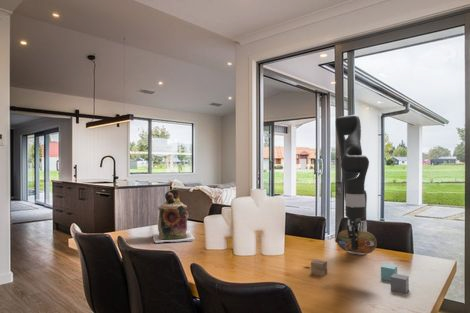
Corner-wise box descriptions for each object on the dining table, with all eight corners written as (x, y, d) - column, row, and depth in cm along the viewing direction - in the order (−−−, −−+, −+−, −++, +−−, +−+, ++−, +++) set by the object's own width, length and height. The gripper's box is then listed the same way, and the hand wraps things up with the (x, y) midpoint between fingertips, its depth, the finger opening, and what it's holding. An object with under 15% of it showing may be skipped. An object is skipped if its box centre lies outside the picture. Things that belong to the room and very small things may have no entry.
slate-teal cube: (384, 276, 136) (383, 263, 136) (397, 278, 133) (397, 266, 133) (381, 279, 132) (380, 266, 132) (394, 281, 129) (394, 269, 129)
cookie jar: (151, 236, 215) (152, 187, 216) (189, 233, 223) (189, 186, 224) (154, 244, 192) (154, 189, 193) (195, 241, 199) (196, 188, 200)
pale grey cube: (393, 286, 123) (393, 273, 124) (408, 289, 120) (408, 276, 120) (390, 290, 119) (390, 276, 120) (406, 294, 116) (405, 279, 116)
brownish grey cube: (316, 271, 142) (316, 259, 142) (327, 273, 139) (327, 261, 139) (311, 274, 138) (311, 262, 138) (322, 276, 135) (322, 264, 135)
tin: (336, 249, 134) (336, 229, 134) (339, 247, 137) (338, 227, 137) (375, 255, 125) (375, 233, 125) (377, 253, 128) (377, 231, 128)
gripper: (351, 202, 139) (352, 244, 139) (339, 206, 128) (340, 250, 128) (369, 204, 135) (370, 246, 134) (359, 207, 124) (360, 253, 123)
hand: (355, 248), depth 131 cm, fingers closed on tin, 2 cm apart
